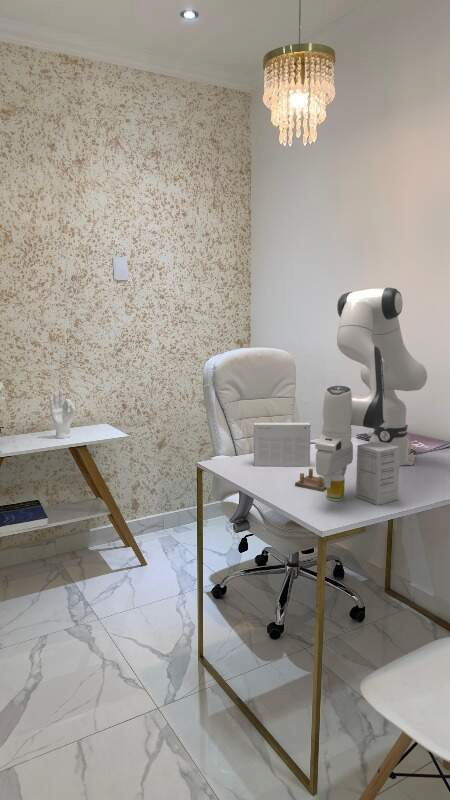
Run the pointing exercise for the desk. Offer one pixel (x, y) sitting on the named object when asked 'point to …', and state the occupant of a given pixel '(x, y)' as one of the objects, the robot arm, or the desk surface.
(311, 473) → the pin stand
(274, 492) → the desk surface
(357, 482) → the supplement box
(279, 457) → the skincare box
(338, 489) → the supplement bottle
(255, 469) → the desk surface
